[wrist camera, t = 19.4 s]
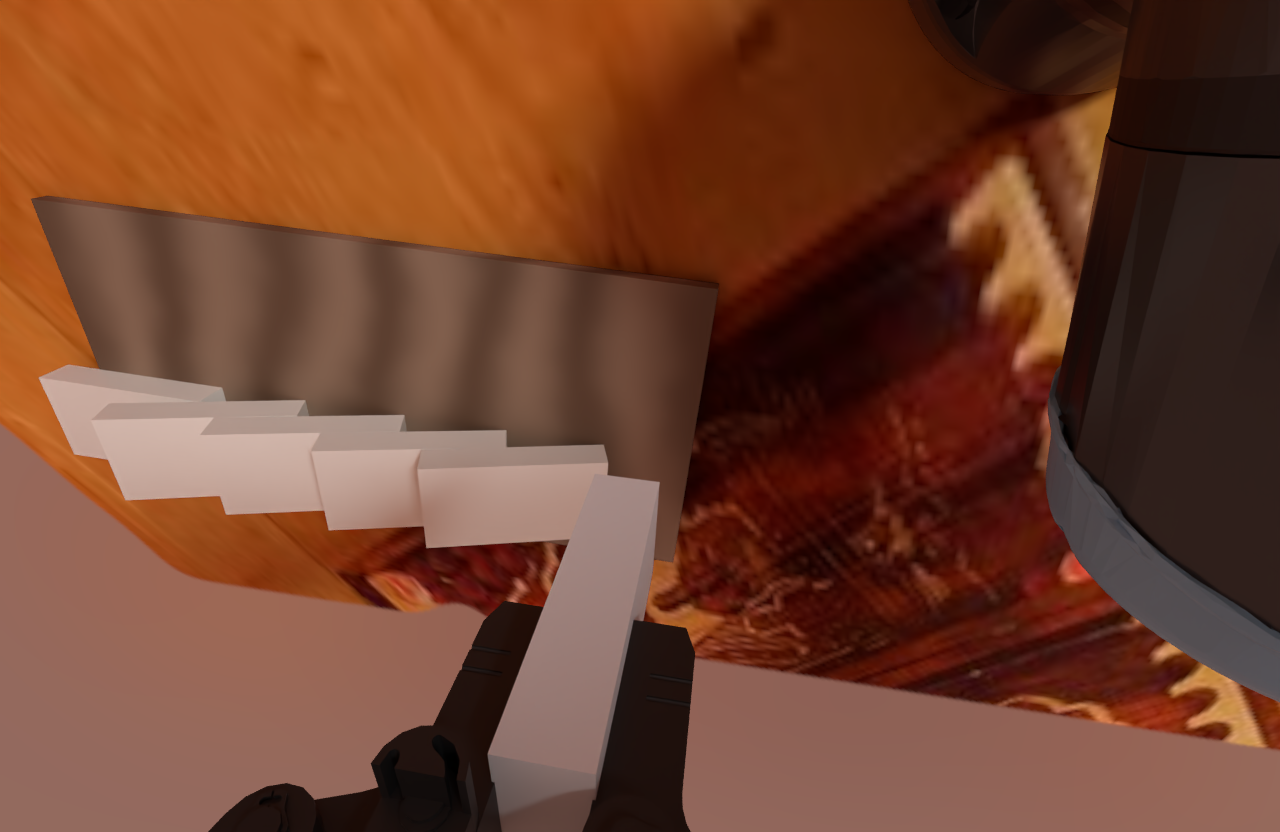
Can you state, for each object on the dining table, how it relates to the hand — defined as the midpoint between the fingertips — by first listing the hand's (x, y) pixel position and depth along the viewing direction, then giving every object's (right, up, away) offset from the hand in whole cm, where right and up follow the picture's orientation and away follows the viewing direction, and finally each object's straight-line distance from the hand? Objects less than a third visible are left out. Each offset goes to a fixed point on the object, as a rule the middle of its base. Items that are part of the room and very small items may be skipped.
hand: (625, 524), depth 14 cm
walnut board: (-16, +4, +25) cm, 30 cm away
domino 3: (-15, 0, +25) cm, 29 cm away
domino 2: (-22, +1, +26) cm, 34 cm away
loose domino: (-2, -2, +24) cm, 25 cm away
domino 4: (-8, -1, +25) cm, 26 cm away
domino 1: (-28, +1, +26) cm, 38 cm away
